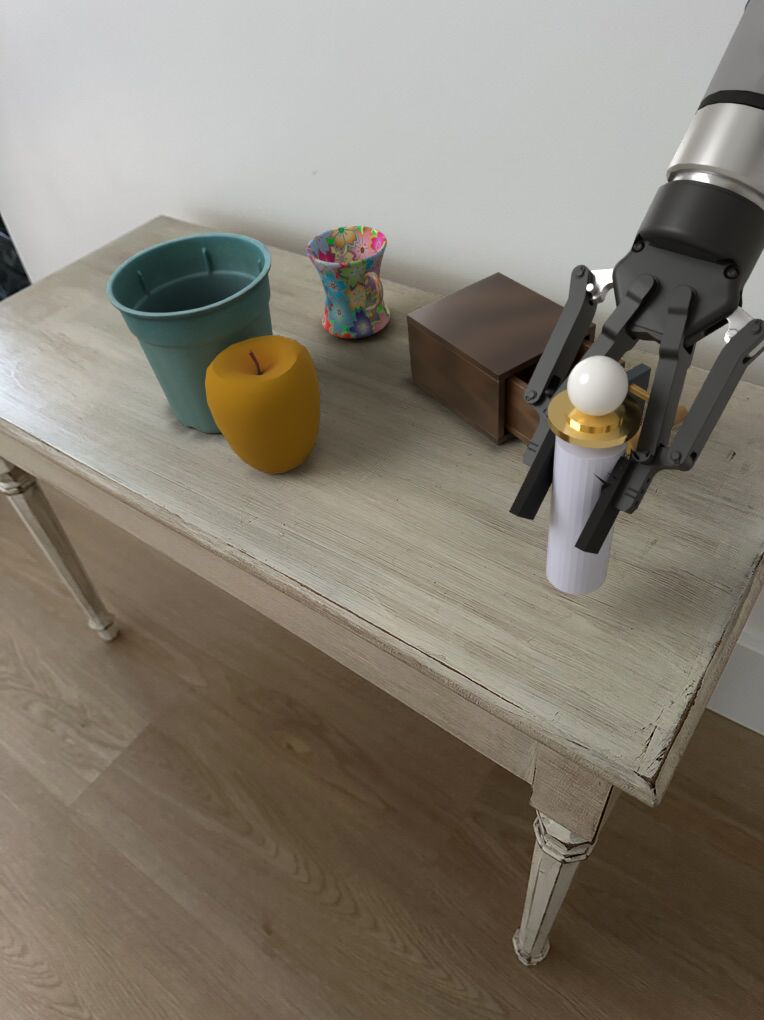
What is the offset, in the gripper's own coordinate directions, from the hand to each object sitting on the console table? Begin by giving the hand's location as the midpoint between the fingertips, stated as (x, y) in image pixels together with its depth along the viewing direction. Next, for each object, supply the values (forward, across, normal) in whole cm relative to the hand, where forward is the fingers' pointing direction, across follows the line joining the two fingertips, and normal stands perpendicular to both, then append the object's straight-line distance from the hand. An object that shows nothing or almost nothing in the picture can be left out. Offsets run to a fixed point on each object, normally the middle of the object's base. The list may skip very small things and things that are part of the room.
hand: (553, 532), depth 54 cm
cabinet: (-9, +23, -26) cm, 36 cm away
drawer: (-7, +12, -24) cm, 28 cm away
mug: (-9, +44, -26) cm, 52 cm away
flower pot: (+5, +46, -12) cm, 48 cm away
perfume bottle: (+3, 0, -9) cm, 9 cm away
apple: (+7, +34, -11) cm, 37 cm away
